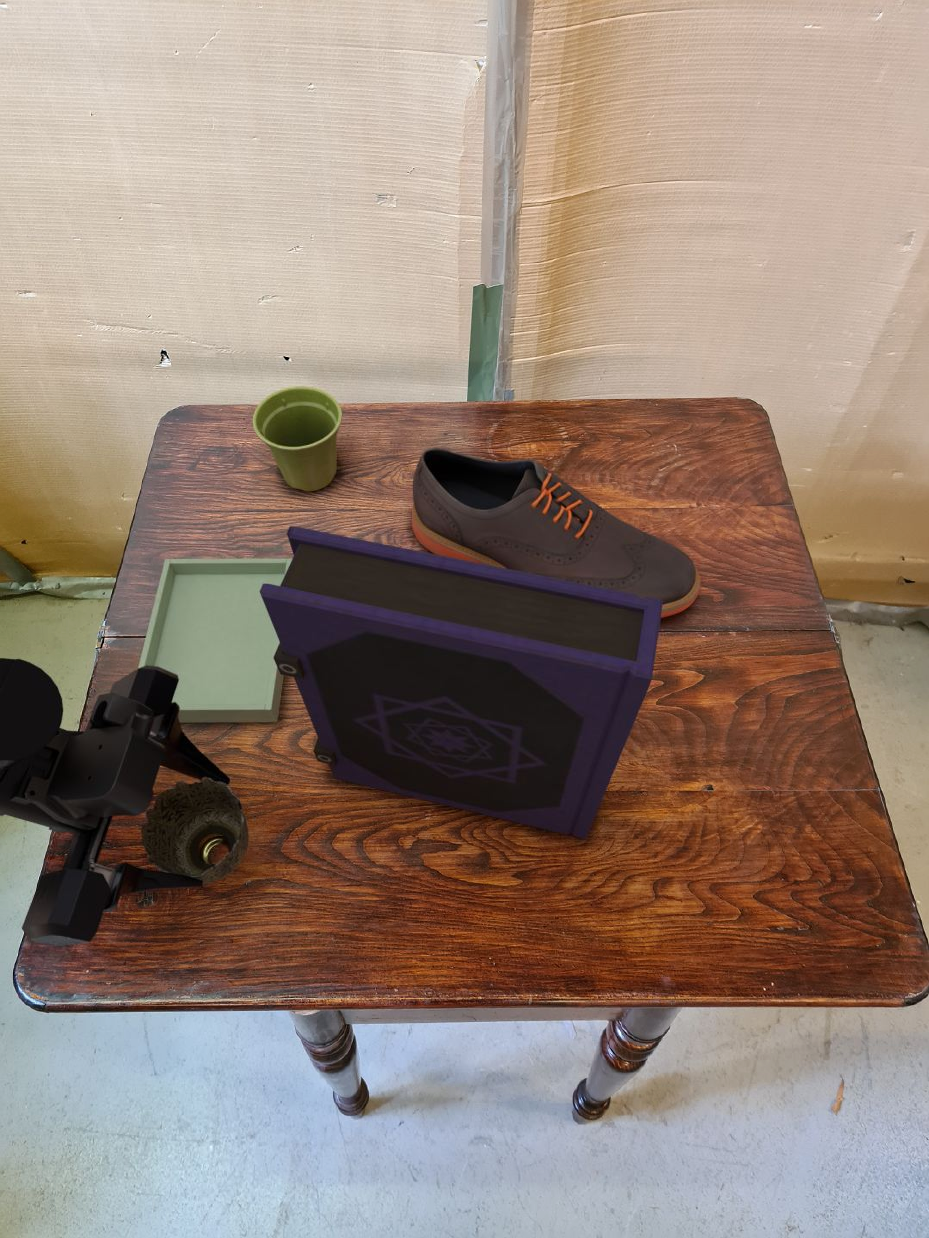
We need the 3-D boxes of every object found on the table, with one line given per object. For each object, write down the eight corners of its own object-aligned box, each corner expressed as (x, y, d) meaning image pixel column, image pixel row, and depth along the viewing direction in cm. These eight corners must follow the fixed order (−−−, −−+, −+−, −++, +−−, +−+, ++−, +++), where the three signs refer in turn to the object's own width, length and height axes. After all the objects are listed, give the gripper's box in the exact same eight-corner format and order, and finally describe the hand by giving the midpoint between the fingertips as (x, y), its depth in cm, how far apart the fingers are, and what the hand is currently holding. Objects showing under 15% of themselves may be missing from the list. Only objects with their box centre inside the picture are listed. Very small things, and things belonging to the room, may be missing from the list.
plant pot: (330, 432, 95) (318, 375, 88) (365, 483, 91) (356, 427, 83) (257, 461, 93) (239, 405, 85) (289, 515, 88) (273, 461, 81)
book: (596, 777, 72) (664, 592, 46) (584, 845, 69) (651, 685, 43) (348, 720, 75) (286, 517, 50) (326, 781, 72) (247, 598, 46)
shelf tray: (138, 722, 75) (127, 710, 73) (173, 574, 84) (164, 558, 82) (277, 722, 75) (271, 709, 73) (297, 573, 84) (292, 558, 82)
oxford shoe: (680, 652, 79) (709, 588, 69) (391, 564, 85) (380, 493, 75) (702, 567, 84) (732, 496, 75) (429, 490, 90) (424, 415, 81)
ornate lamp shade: (171, 908, 63) (136, 883, 56) (174, 818, 67) (142, 784, 60) (265, 893, 64) (243, 866, 57) (263, 804, 68) (242, 770, 61)
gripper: (-22, 902, 41) (240, 961, 50) (101, 600, 51) (302, 693, 59) (-81, 919, 48) (157, 967, 57) (37, 650, 58) (225, 727, 66)
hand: (214, 832), depth 60 cm, fingers closed on ornate lamp shade, 7 cm apart
